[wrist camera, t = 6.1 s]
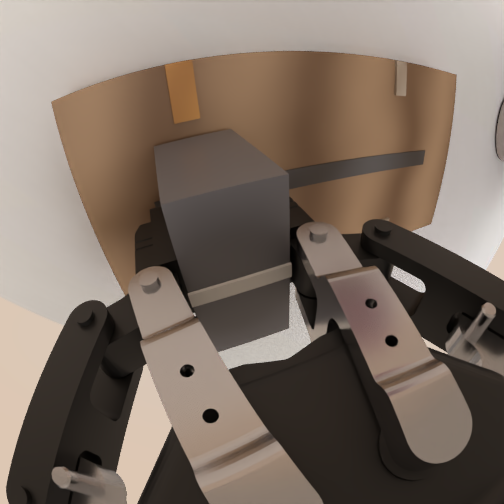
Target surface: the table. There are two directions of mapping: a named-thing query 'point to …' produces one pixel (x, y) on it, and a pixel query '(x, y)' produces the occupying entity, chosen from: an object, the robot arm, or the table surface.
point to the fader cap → (228, 233)
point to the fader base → (266, 136)
